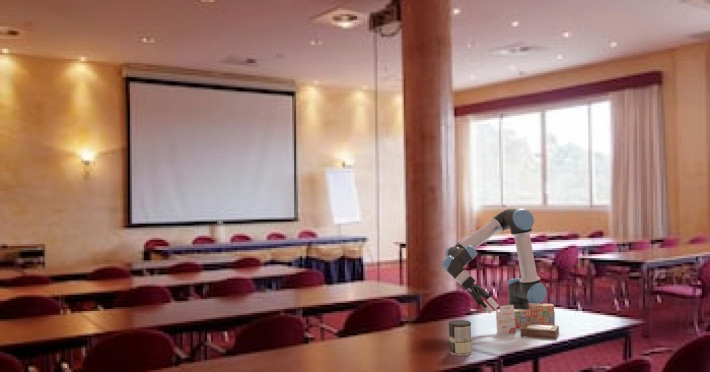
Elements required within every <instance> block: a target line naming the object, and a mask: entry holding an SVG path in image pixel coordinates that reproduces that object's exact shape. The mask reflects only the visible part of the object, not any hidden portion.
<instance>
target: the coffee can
mask: <svg viewBox="0 0 710 372" xmlns="http://www.w3.org/2000/svg"><path fill="white" fill-rule="evenodd" d="M448 334H449V337H448V338H449V354H450V355H453V356H469V355H472V353H473V350H472V349H473V348H472V347H473V345H472V323H471V321H469V320H464V319H463V320H461V319H459V320H456V319H455V320H450V321H448Z"/></svg>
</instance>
